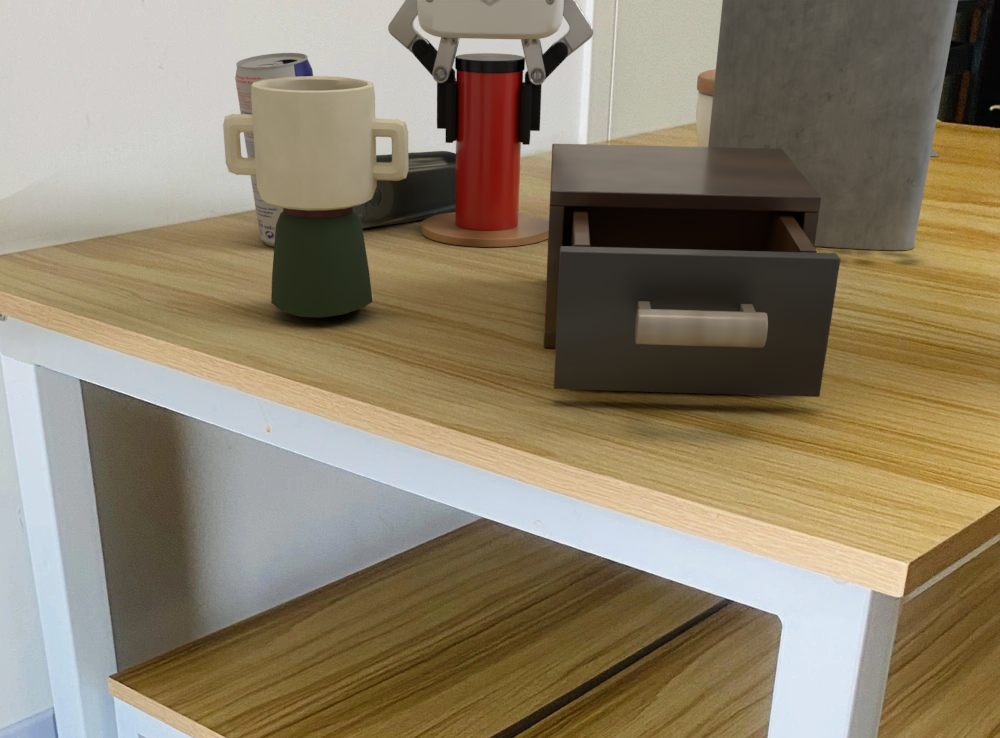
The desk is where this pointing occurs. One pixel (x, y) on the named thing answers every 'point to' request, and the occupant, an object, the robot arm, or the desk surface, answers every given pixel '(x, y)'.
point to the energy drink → (245, 76)
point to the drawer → (692, 303)
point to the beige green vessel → (317, 184)
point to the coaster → (485, 232)
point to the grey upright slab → (839, 103)
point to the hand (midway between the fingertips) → (488, 138)
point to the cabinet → (668, 190)
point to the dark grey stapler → (413, 191)
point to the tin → (488, 140)
